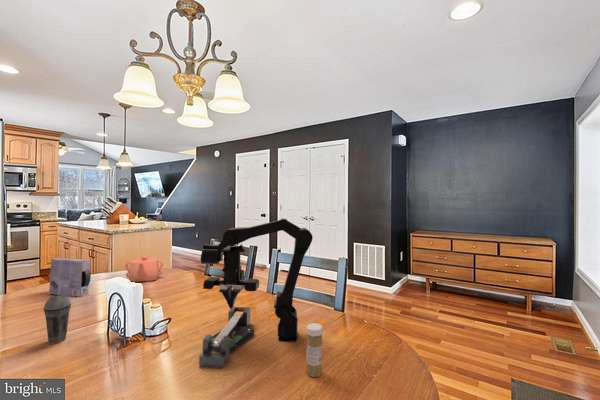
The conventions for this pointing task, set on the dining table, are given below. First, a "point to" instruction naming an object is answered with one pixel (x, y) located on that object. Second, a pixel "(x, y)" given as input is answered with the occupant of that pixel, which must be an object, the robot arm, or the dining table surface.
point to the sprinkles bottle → (314, 349)
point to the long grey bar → (227, 329)
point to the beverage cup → (57, 316)
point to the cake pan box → (70, 277)
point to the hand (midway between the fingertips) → (231, 308)
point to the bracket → (222, 342)
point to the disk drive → (236, 337)
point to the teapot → (143, 269)
